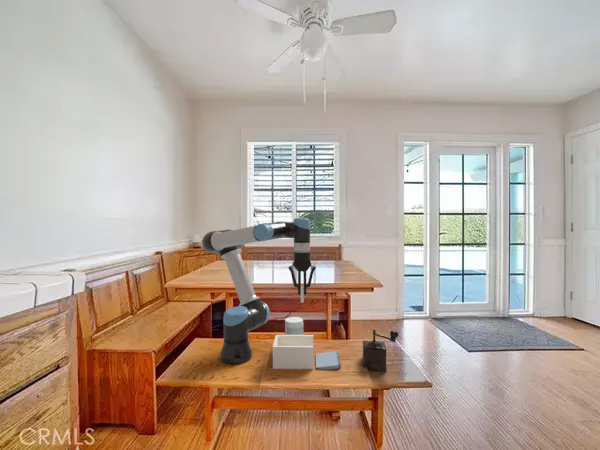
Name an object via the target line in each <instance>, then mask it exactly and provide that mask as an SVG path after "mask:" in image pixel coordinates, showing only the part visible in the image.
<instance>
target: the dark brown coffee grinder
mask: <svg viewBox="0 0 600 450" xmlns="http://www.w3.org/2000/svg"><path fill="white" fill-rule="evenodd" d="M376 332H377V330H376V329H372V335H373V337H372V340H362V350H361V351H362V366H363V368H367V370H368V371H374V372H377V371H379V372H386V371H387V370H388V369H387V348H386V347H387V346H386V344H385V342H384V341H378V340H376V337H380V338H383V339H387V340H389V341H390V342H391V343H396V341H397V338H398V337H399V332H398V331H396V330H390V332H389V335H390V337H389V336H385V335H382V334H377V333H376Z"/></svg>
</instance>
